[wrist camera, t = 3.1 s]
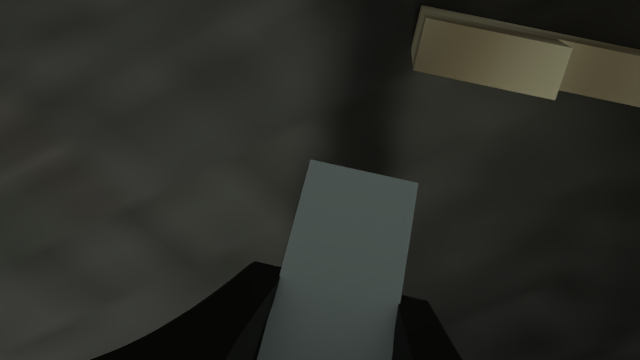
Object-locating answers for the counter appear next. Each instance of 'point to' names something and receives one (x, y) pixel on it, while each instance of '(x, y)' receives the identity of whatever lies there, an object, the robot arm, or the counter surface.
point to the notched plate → (342, 268)
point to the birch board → (523, 58)
